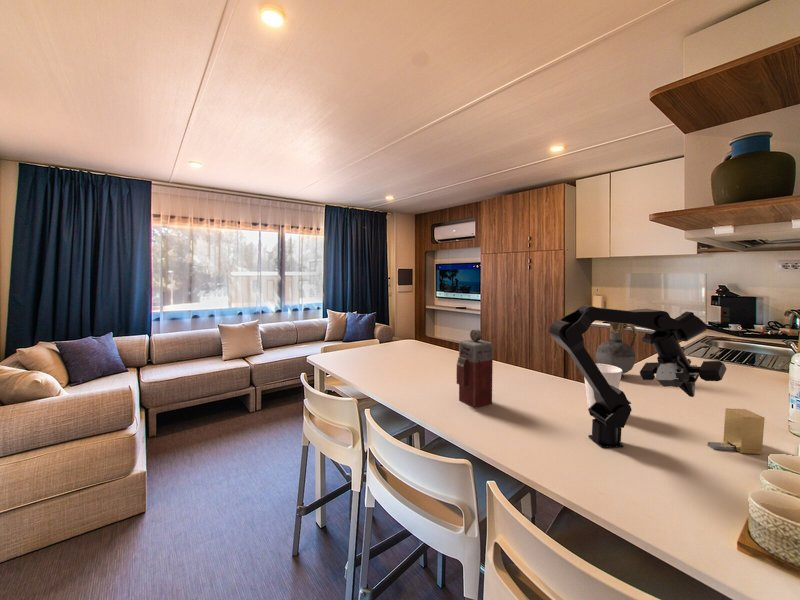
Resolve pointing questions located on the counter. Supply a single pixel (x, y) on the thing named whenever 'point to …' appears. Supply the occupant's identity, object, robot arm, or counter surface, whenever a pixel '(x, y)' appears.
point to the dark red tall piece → (475, 371)
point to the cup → (611, 376)
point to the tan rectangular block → (744, 430)
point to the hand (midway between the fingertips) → (692, 396)
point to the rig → (722, 446)
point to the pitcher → (617, 349)
